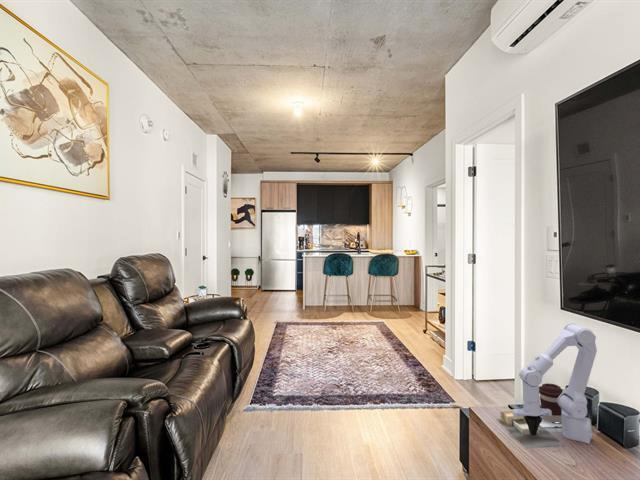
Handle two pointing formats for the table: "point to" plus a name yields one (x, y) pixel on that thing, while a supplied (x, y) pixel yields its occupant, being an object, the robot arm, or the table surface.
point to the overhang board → (528, 440)
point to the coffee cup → (551, 401)
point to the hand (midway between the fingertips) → (533, 434)
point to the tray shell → (522, 426)
